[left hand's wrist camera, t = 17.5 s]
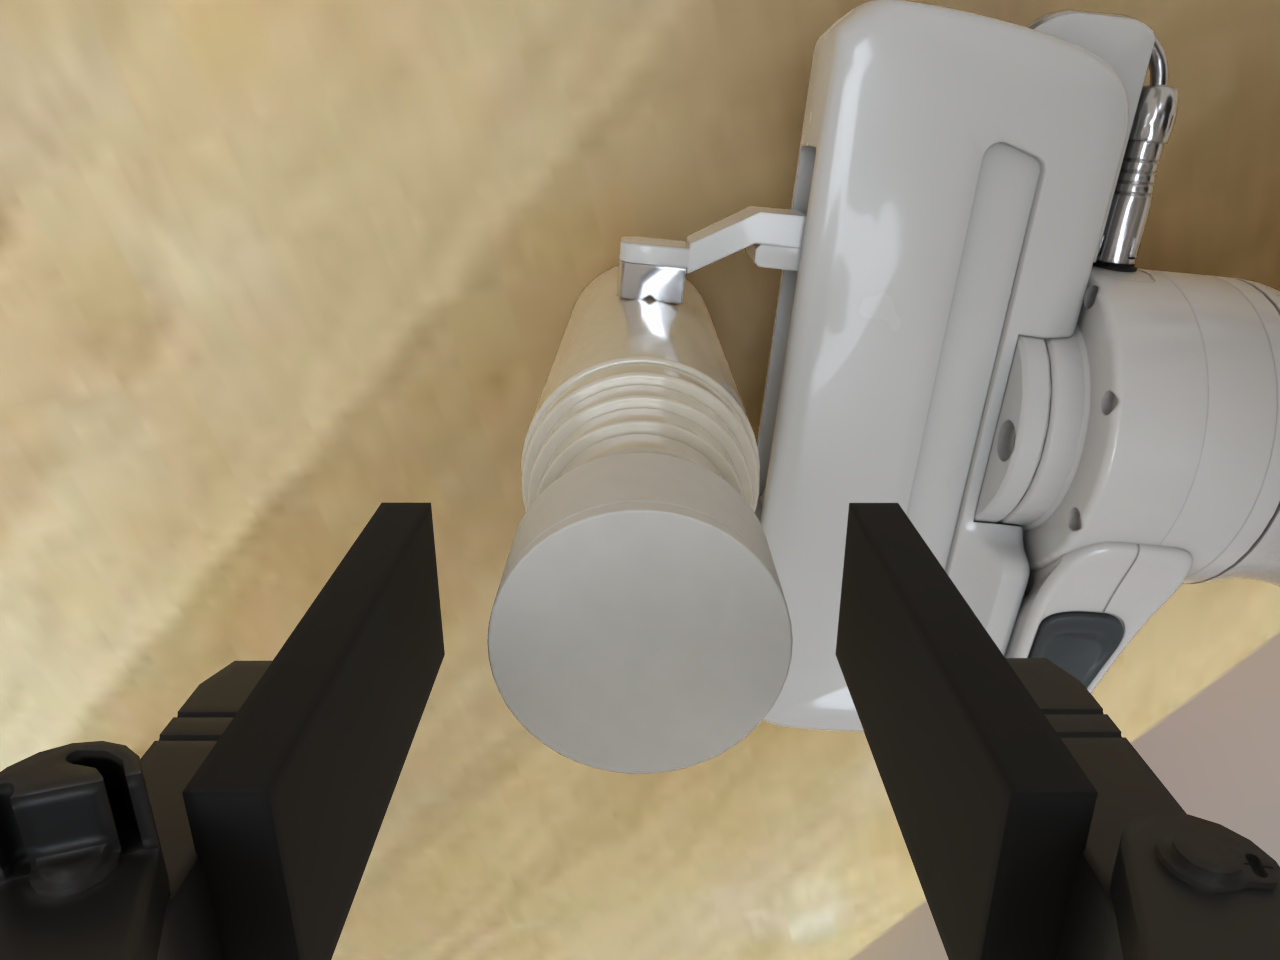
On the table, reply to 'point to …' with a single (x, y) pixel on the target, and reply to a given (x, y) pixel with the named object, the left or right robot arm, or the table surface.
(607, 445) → the bottle
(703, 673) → the cap
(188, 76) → the table surface
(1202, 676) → the table surface
